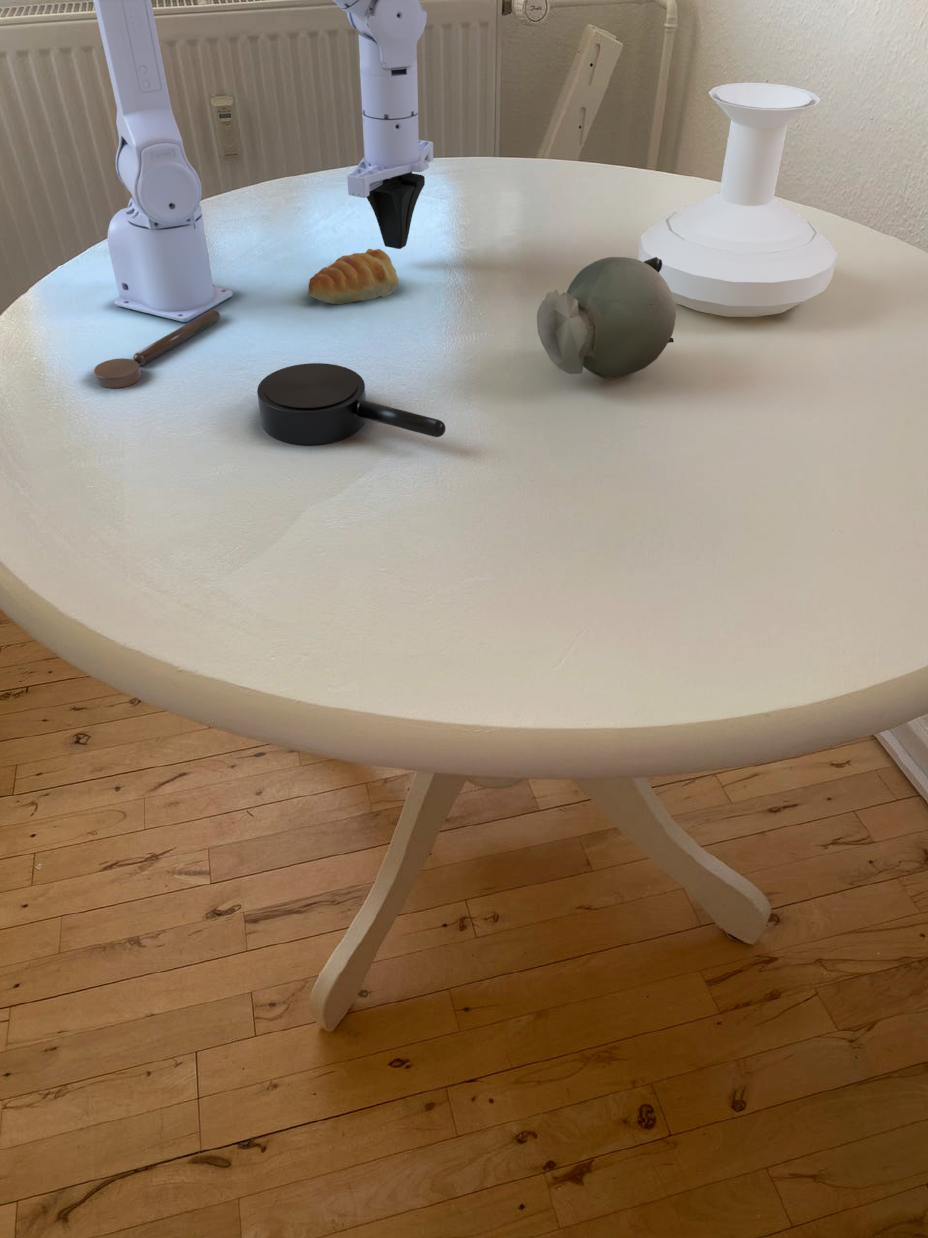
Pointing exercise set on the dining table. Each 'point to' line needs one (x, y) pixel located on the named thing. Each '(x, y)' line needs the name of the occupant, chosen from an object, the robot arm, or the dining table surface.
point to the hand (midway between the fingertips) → (395, 245)
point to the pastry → (355, 278)
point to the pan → (326, 406)
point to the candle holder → (745, 219)
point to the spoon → (148, 354)
